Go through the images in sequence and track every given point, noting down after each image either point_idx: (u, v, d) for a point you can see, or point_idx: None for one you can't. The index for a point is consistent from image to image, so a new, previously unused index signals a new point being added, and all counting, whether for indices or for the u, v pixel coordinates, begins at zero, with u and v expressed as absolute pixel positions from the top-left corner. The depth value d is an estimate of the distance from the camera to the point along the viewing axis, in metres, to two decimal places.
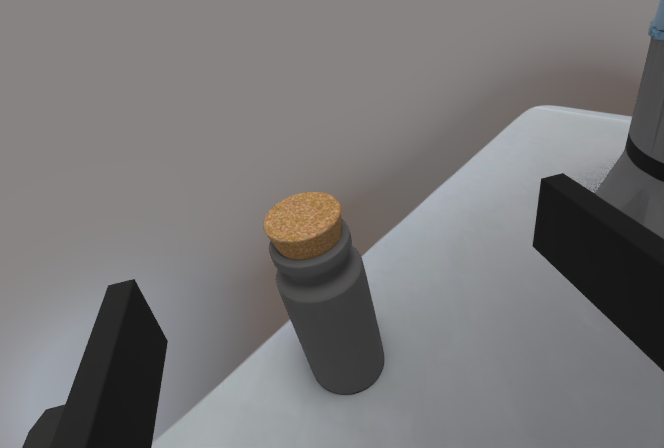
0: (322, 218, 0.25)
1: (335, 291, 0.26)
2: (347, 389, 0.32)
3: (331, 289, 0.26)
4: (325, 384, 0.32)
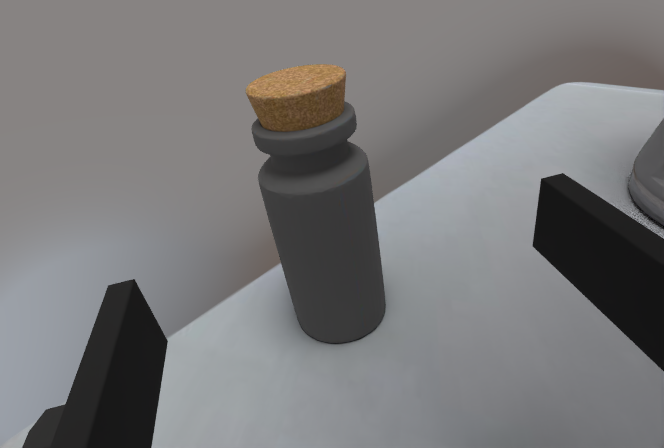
0: (321, 79, 0.19)
1: (331, 182, 0.20)
2: (338, 334, 0.25)
3: (325, 179, 0.20)
4: (310, 328, 0.26)
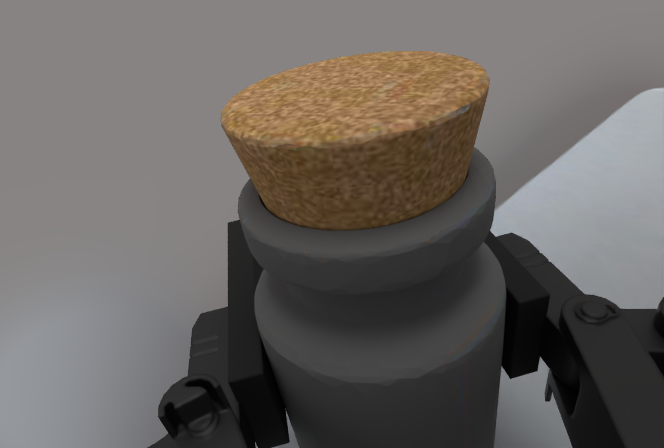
0: (429, 87, 0.07)
1: (440, 349, 0.08)
2: None
3: (426, 342, 0.08)
4: None
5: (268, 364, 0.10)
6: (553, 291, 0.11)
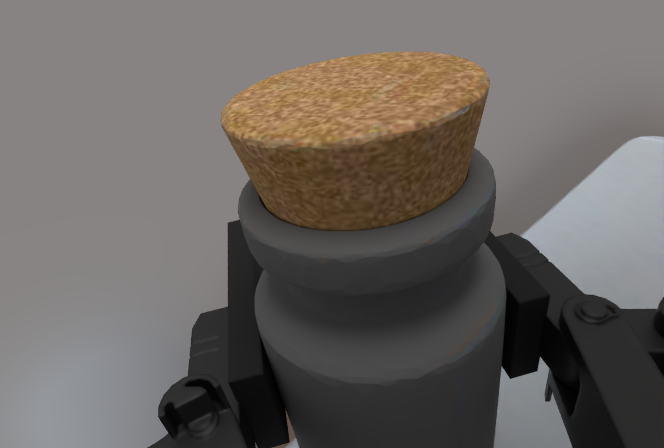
0: (429, 88, 0.07)
1: (440, 350, 0.08)
2: None
3: (426, 342, 0.08)
4: None
5: (268, 364, 0.10)
6: (553, 290, 0.11)
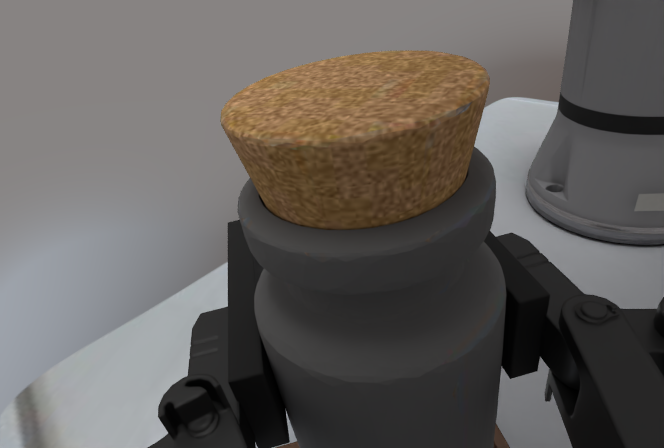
0: (429, 87, 0.07)
1: (440, 349, 0.08)
2: None
3: (425, 341, 0.08)
4: None
5: (268, 364, 0.10)
6: (553, 291, 0.11)
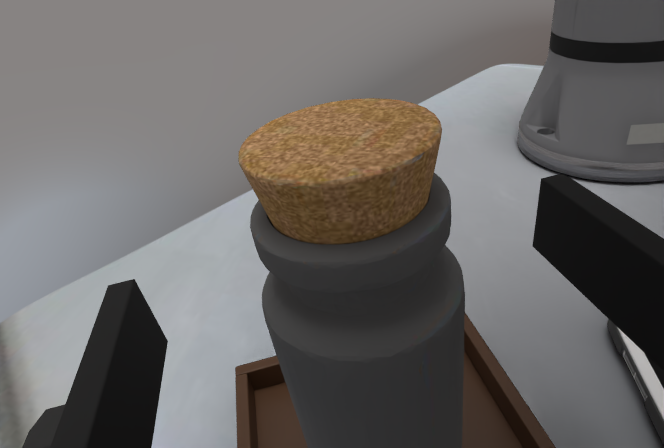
0: (395, 138, 0.09)
1: (408, 335, 0.10)
2: None
3: (396, 329, 0.10)
4: None
5: None
6: None
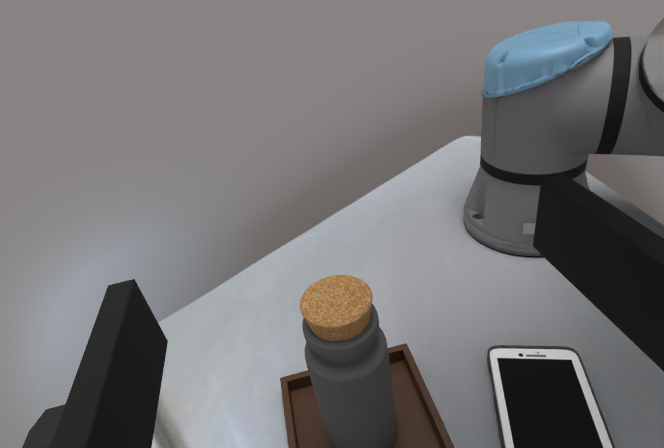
0: (355, 306, 0.27)
1: (361, 371, 0.28)
2: None
3: (357, 369, 0.28)
4: None
5: None
6: None
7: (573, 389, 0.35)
